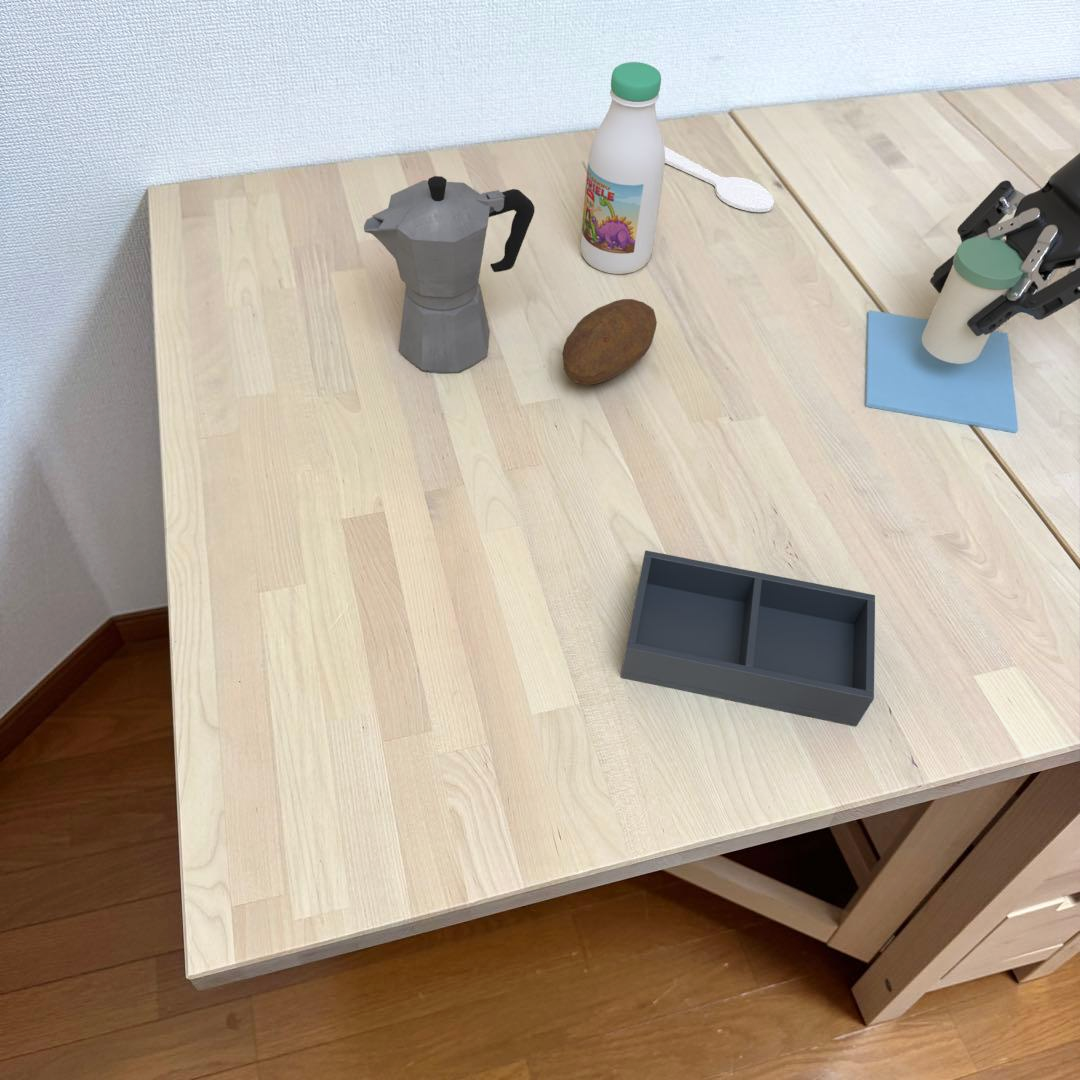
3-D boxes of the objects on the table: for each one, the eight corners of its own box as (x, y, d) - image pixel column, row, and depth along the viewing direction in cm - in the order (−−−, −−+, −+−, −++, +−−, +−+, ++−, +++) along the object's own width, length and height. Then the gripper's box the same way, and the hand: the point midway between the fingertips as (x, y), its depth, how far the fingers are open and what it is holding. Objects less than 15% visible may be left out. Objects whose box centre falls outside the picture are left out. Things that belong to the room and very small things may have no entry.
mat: (1005, 336, 102) (1007, 333, 102) (1016, 433, 94) (1018, 429, 93) (867, 313, 103) (868, 309, 103) (865, 406, 95) (866, 402, 95)
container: (996, 351, 95) (1041, 265, 87) (952, 373, 93) (995, 287, 85) (949, 315, 98) (989, 229, 90) (906, 336, 96) (943, 249, 88)
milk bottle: (618, 223, 111) (639, 43, 95) (666, 258, 108) (696, 77, 92) (565, 249, 108) (578, 67, 92) (613, 285, 105) (634, 103, 89)
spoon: (660, 139, 122) (660, 135, 122) (783, 199, 115) (784, 195, 115) (632, 156, 119) (633, 152, 119) (757, 219, 112) (758, 215, 112)
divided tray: (638, 581, 81) (645, 549, 78) (859, 625, 80) (875, 594, 76) (620, 677, 76) (626, 648, 72) (856, 727, 74) (874, 699, 71)
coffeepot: (391, 389, 94) (374, 224, 80) (367, 326, 99) (346, 161, 85) (545, 356, 97) (554, 192, 83) (513, 296, 103) (517, 133, 89)
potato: (541, 384, 95) (544, 327, 90) (610, 322, 101) (617, 265, 95) (599, 416, 93) (605, 360, 87) (666, 351, 99) (676, 295, 93)
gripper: (1190, 244, 83) (1010, 376, 90) (1084, 151, 92) (926, 279, 98) (1172, 198, 78) (982, 342, 85) (1061, 103, 86) (896, 242, 93)
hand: (953, 307), depth 92 cm, fingers closed on container, 5 cm apart
